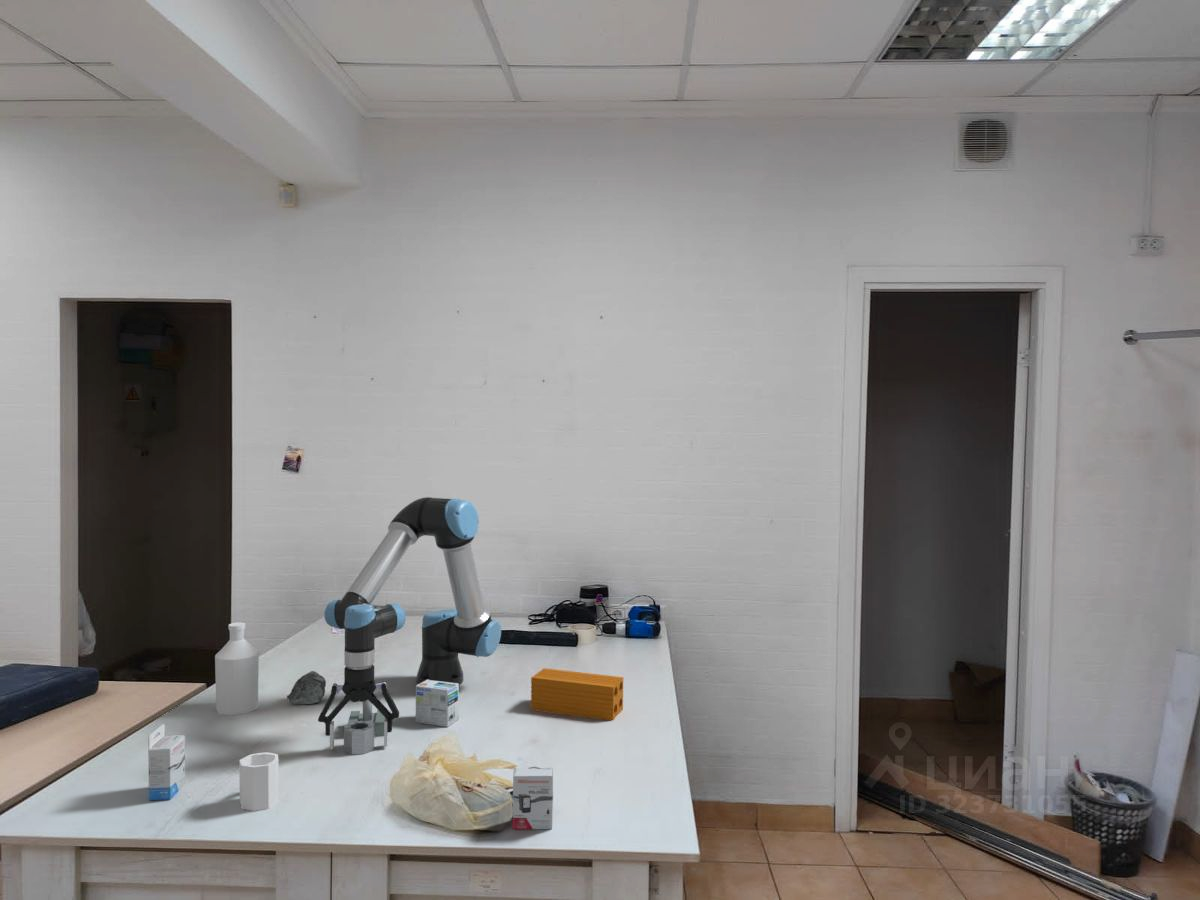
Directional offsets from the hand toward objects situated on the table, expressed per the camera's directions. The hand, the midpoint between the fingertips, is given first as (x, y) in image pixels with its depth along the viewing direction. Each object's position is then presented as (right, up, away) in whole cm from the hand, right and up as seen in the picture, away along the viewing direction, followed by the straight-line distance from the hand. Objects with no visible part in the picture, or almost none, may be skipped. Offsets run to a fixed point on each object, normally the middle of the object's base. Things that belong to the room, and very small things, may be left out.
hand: (359, 746), depth 220 cm
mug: (-14, -2, -29) cm, 32 cm away
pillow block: (-1, 0, +13) cm, 13 cm away
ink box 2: (+48, -3, -39) cm, 62 cm away
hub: (0, -1, 0) cm, 1 cm away
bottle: (-44, +1, +29) cm, 53 cm away
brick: (+56, -1, +31) cm, 64 cm away
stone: (-25, +1, +36) cm, 44 cm away
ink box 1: (-37, -2, -26) cm, 45 cm away
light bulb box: (+16, 0, +21) cm, 26 cm away
